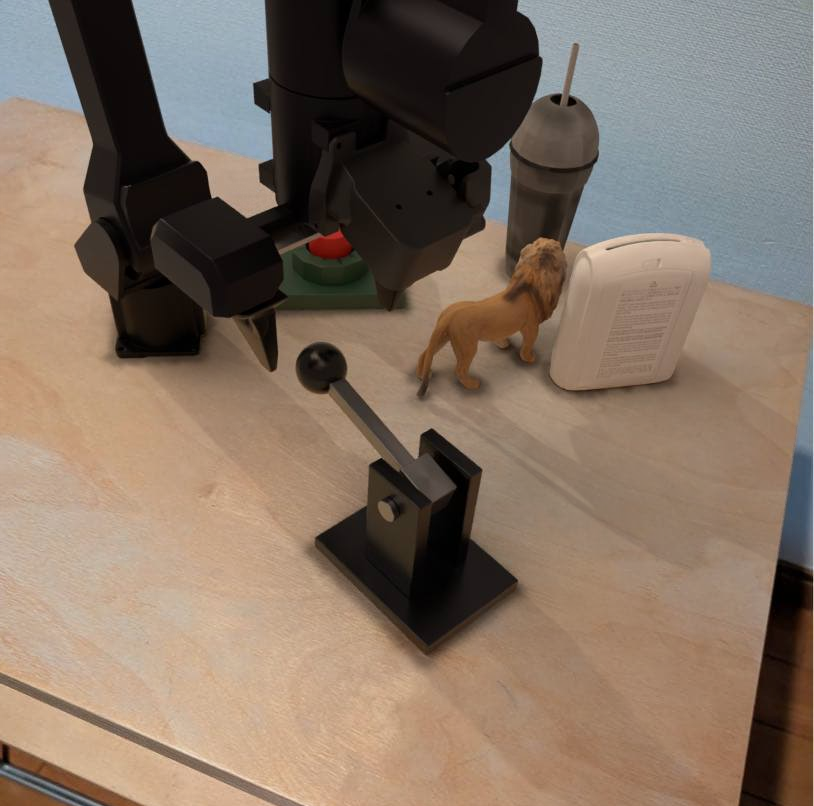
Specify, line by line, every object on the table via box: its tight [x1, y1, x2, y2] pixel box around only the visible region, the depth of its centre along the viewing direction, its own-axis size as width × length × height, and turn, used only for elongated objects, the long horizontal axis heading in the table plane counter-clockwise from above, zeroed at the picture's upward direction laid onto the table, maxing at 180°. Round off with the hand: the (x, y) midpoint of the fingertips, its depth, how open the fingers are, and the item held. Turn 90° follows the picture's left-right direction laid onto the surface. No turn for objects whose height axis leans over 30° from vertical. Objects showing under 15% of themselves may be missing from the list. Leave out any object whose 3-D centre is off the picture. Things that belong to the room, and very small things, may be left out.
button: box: [309, 228, 352, 259], centre depth 76 cm, size 4×4×2 cm
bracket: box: [314, 427, 519, 656], centre depth 56 cm, size 11×8×10 cm
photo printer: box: [549, 232, 712, 391], centre depth 69 cm, size 10×4×12 cm, turn 103°
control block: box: [275, 242, 406, 311], centre depth 78 cm, size 12×9×4 cm
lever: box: [294, 341, 457, 517], centre depth 55 cm, size 13×3×3 cm, turn 42°
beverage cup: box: [504, 42, 600, 279], centre depth 74 cm, size 7×7×20 cm
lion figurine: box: [415, 238, 569, 398], centre depth 70 cm, size 15×5×9 cm, turn 134°
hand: (330, 336), depth 55 cm, fingers open, 9 cm apart
